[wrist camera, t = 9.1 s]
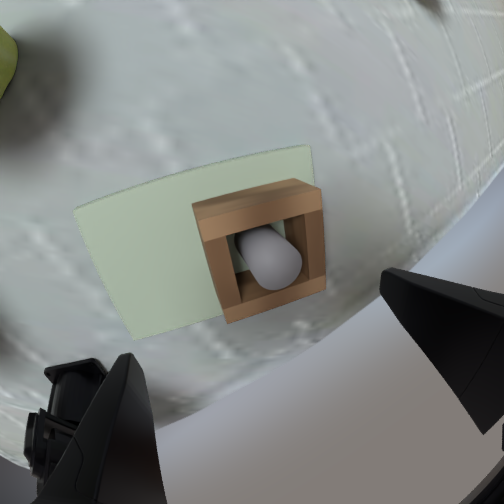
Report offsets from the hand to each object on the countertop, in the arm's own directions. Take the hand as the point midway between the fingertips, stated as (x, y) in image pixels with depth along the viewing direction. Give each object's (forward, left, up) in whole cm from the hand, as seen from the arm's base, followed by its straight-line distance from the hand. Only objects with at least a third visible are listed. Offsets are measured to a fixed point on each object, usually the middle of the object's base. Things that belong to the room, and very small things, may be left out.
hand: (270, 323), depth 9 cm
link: (+3, -2, -11) cm, 11 cm away
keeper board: (0, -2, -11) cm, 12 cm away
